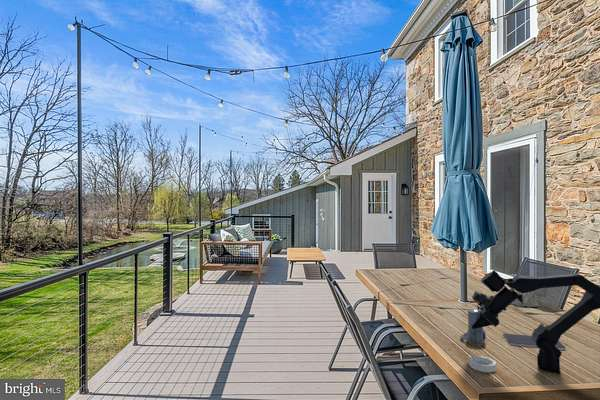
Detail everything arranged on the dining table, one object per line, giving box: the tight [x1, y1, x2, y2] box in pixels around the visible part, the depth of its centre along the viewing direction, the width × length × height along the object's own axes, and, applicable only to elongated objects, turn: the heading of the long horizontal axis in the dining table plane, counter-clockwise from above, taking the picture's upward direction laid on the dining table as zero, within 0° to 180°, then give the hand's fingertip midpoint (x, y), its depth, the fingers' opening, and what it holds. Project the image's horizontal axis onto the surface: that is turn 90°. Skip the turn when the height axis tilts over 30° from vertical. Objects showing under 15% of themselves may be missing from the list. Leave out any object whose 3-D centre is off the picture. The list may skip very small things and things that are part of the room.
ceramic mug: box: [460, 327, 487, 343], centre depth 163 cm, size 11×8×8 cm
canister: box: [467, 308, 484, 346], centre depth 143 cm, size 5×5×13 cm
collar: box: [468, 355, 497, 374], centre depth 136 cm, size 9×9×2 cm
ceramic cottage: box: [511, 289, 539, 308], centre depth 228 cm, size 16×16×15 cm
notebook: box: [502, 333, 566, 351], centre depth 161 cm, size 13×2×21 cm
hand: (471, 325), depth 143 cm, fingers closed on canister, 5 cm apart
